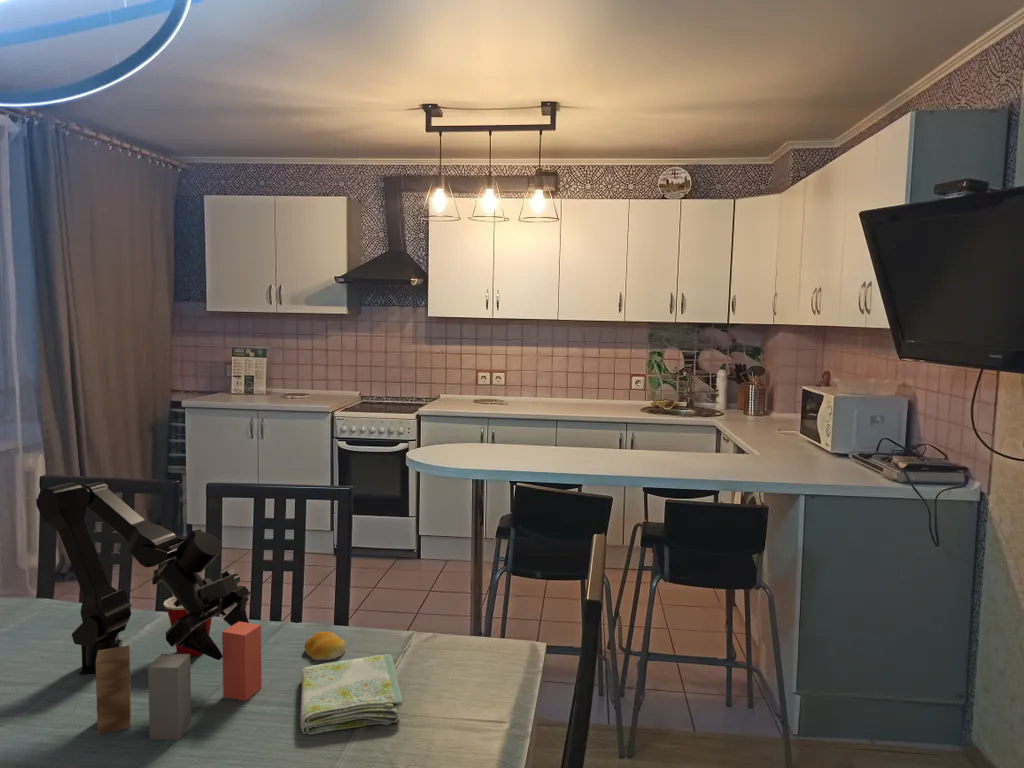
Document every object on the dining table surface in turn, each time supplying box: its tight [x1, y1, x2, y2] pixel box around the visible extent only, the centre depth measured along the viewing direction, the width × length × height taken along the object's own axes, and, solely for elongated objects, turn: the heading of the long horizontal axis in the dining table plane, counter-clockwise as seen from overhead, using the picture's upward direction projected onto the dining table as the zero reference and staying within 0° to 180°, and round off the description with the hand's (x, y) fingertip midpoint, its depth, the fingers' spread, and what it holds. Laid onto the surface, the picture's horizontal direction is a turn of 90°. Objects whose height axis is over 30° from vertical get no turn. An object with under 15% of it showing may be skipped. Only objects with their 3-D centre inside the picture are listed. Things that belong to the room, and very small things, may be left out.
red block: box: [221, 622, 262, 702], centre depth 140 cm, size 5×5×13 cm
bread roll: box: [304, 630, 347, 661], centre depth 158 cm, size 8×9×4 cm
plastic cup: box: [163, 596, 213, 658], centre depth 157 cm, size 11×11×12 cm
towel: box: [300, 653, 403, 735], centre depth 138 cm, size 18×21×5 cm
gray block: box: [147, 653, 192, 741], centre depth 126 cm, size 5×5×13 cm
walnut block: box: [95, 645, 132, 735], centre depth 128 cm, size 5×5×13 cm
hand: (236, 647), depth 140 cm, fingers open, 9 cm apart
